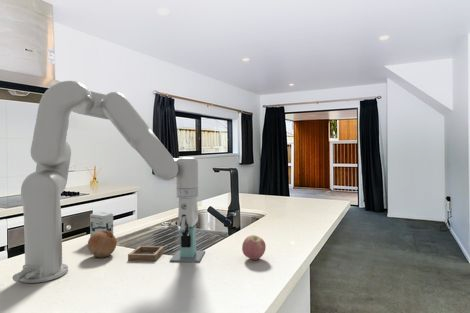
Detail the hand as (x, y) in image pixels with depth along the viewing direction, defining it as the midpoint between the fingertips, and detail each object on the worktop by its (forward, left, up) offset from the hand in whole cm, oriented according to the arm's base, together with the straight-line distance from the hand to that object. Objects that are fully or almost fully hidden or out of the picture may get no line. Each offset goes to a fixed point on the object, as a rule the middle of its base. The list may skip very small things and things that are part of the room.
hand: (188, 243), depth 106 cm
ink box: (+15, +40, -5) cm, 43 cm away
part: (0, 0, -4) cm, 4 cm away
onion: (-1, +31, -5) cm, 31 cm away
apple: (-1, -23, -5) cm, 24 cm away
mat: (0, 0, -5) cm, 5 cm away
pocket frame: (0, +15, -5) cm, 16 cm away
